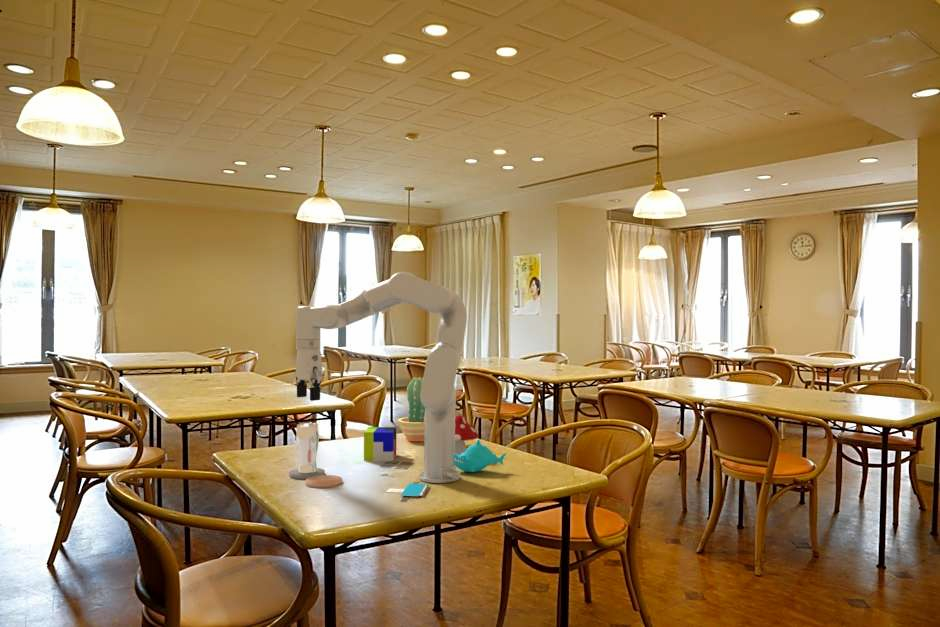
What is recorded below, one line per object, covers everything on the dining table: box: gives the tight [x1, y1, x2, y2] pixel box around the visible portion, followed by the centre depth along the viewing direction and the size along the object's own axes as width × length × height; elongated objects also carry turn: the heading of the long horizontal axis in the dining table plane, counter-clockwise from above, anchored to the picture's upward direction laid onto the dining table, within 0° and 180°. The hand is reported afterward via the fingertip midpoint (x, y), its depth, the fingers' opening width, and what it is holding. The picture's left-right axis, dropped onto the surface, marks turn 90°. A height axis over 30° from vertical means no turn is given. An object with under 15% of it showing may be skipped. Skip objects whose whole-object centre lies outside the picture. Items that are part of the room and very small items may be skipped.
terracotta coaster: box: [304, 474, 343, 489], centre depth 201 cm, size 11×11×1 cm
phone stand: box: [385, 481, 430, 502], centre depth 192 cm, size 20×12×2 cm, turn 174°
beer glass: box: [295, 422, 320, 474], centre depth 210 cm, size 7×7×15 cm
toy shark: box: [455, 438, 507, 473], centre depth 215 cm, size 10×18×11 cm, turn 91°
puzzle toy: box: [363, 426, 397, 462], centre depth 235 cm, size 10×10×10 cm
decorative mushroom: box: [455, 414, 480, 455], centre depth 237 cm, size 14×14×15 cm
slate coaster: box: [288, 467, 326, 480], centre depth 210 cm, size 11×11×1 cm
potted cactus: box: [397, 377, 425, 442], centre depth 267 cm, size 15×15×25 cm
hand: (308, 398), depth 210 cm, fingers open, 9 cm apart
